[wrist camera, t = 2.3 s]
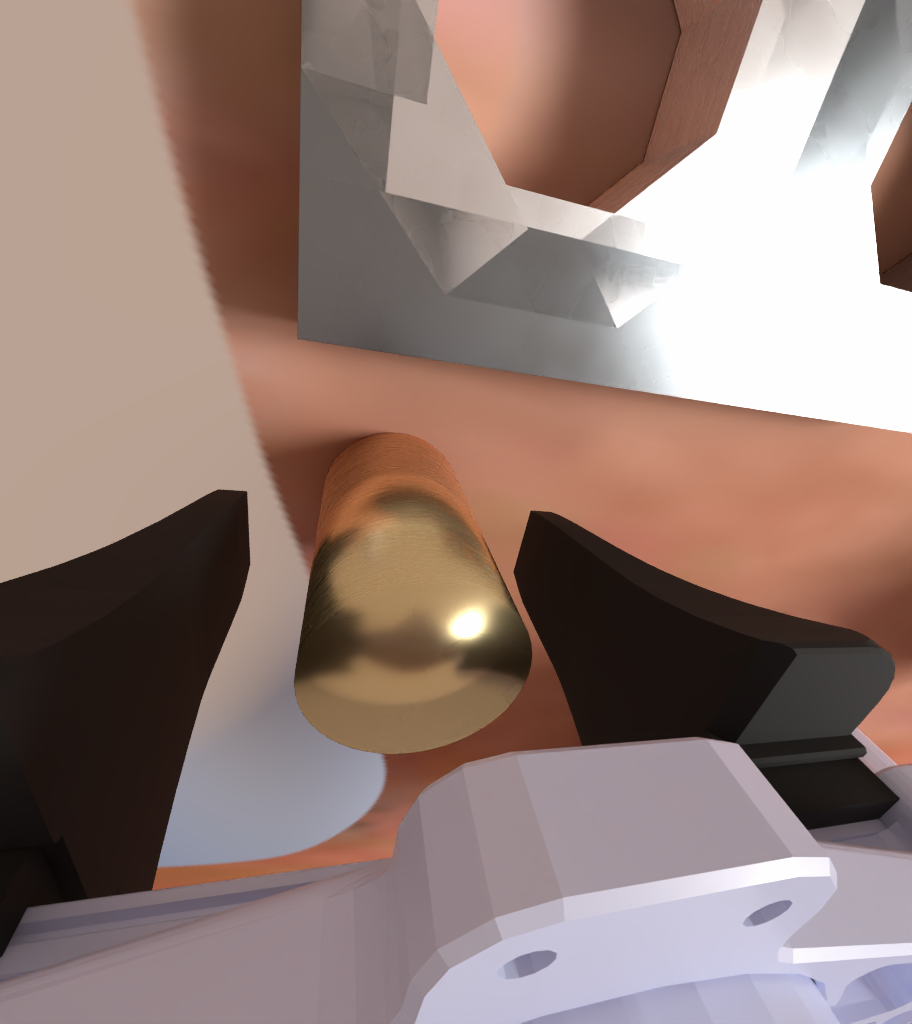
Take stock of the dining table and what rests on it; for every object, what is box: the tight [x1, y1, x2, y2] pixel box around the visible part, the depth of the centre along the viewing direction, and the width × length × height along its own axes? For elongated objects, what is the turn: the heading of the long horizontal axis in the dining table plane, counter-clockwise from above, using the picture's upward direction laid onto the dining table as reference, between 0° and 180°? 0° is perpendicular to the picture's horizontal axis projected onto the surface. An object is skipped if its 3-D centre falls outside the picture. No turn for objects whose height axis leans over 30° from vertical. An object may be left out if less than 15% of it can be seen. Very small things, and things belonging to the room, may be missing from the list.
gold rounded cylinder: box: [294, 433, 532, 754], centre depth 10 cm, size 4×4×7 cm
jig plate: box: [298, 0, 912, 433], centre depth 9 cm, size 12×19×2 cm, turn 80°
